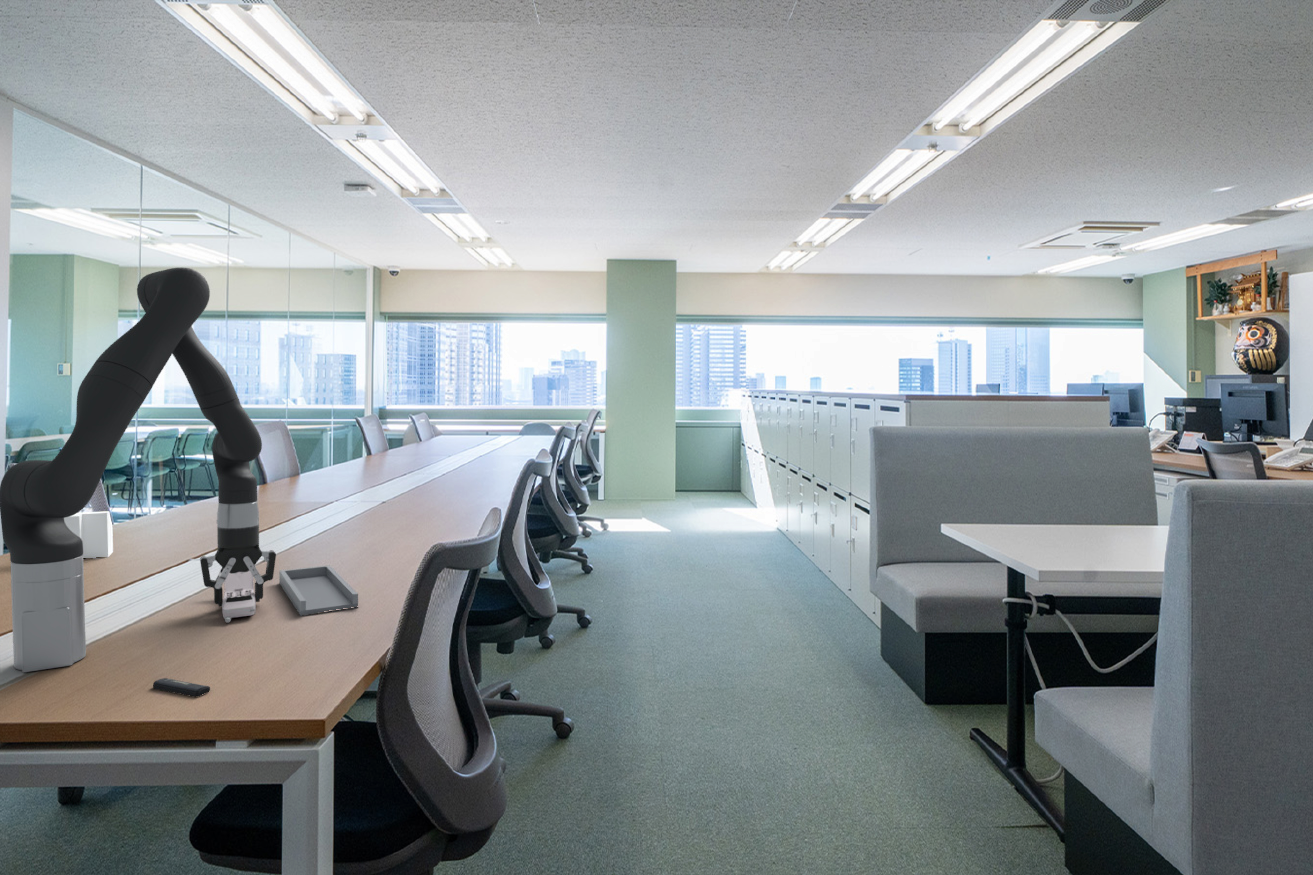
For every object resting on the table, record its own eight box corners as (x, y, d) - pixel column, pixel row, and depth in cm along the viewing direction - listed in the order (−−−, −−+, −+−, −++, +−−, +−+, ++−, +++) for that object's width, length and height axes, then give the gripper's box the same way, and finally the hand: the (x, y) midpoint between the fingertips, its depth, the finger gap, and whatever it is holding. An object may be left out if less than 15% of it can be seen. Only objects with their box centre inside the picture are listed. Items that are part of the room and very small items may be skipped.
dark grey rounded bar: (212, 693, 111) (212, 683, 111) (196, 700, 108) (196, 690, 108) (167, 684, 114) (166, 675, 114) (150, 691, 112) (150, 681, 111)
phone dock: (358, 607, 155) (358, 593, 155) (300, 615, 148) (300, 601, 148) (329, 577, 179) (329, 565, 179) (279, 583, 173) (279, 570, 173)
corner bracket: (54, 563, 189) (53, 517, 188) (64, 555, 199) (63, 510, 198) (106, 559, 194) (104, 514, 193) (113, 551, 204) (111, 508, 203)
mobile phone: (254, 565, 166) (255, 591, 144) (254, 591, 166) (256, 620, 145) (223, 568, 163) (220, 595, 141) (223, 594, 163) (221, 625, 142)
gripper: (198, 529, 146) (199, 612, 147) (279, 523, 154) (280, 602, 155) (196, 523, 152) (197, 603, 153) (274, 518, 160) (275, 594, 161)
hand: (239, 602), depth 154 cm, fingers closed on mobile phone, 6 cm apart
